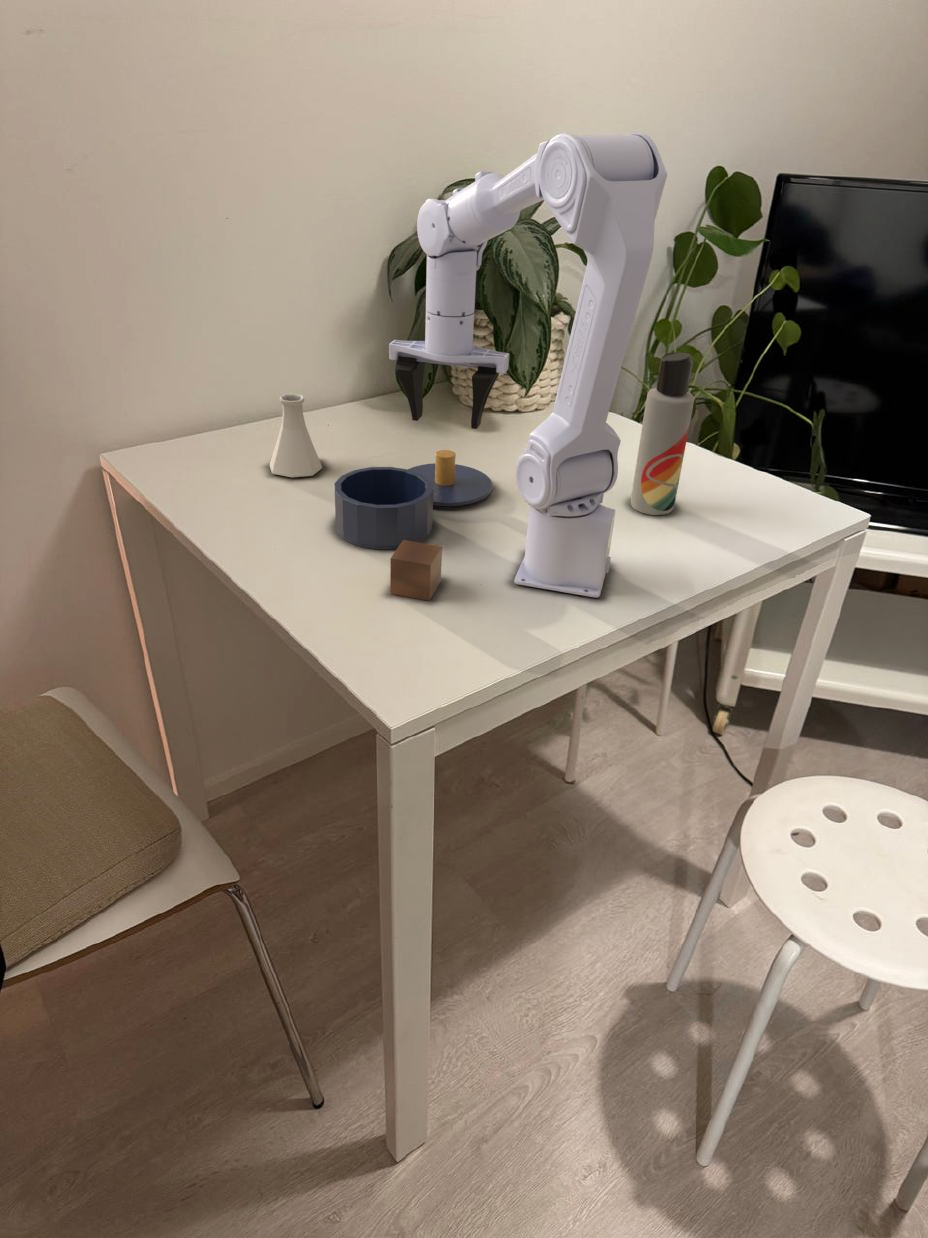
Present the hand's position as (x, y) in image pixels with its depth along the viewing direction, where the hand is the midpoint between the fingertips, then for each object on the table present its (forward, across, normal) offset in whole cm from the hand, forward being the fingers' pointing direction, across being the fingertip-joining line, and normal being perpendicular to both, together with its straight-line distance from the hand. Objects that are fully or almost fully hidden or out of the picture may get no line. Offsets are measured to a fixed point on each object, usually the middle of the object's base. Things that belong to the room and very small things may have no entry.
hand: (446, 422), depth 114 cm
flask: (+10, +21, -1) cm, 24 cm away
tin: (+10, +4, +11) cm, 16 cm away
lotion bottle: (+10, -27, -6) cm, 29 cm away
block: (+10, -4, +24) cm, 26 cm away
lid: (+9, 0, -2) cm, 9 cm away
